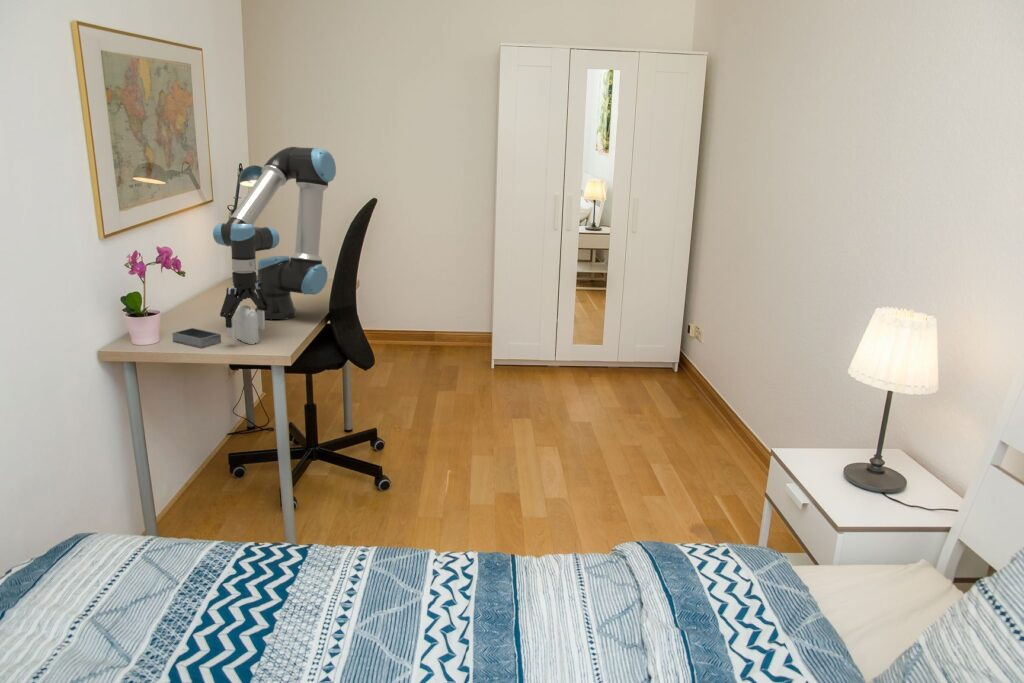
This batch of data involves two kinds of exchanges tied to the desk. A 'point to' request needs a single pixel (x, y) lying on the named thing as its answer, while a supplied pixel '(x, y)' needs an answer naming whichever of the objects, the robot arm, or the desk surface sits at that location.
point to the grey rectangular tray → (196, 337)
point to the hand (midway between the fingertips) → (246, 332)
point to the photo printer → (246, 324)
